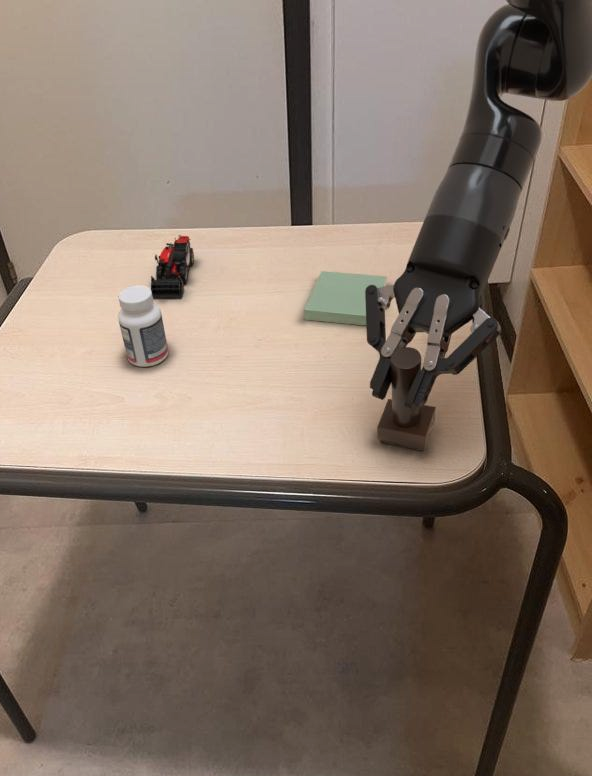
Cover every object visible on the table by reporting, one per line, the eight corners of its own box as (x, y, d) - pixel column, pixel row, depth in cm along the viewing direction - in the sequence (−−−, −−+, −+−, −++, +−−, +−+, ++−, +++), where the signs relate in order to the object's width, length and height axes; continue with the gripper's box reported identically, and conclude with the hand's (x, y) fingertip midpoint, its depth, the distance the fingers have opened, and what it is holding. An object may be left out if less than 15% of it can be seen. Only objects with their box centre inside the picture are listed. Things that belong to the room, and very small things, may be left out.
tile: (386, 286, 98) (386, 276, 97) (373, 326, 92) (373, 316, 91) (321, 280, 101) (321, 270, 100) (304, 319, 94) (303, 309, 93)
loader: (182, 299, 100) (177, 268, 97) (150, 299, 101) (144, 268, 98) (197, 256, 109) (193, 226, 105) (167, 256, 109) (162, 227, 106)
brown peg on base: (435, 423, 76) (438, 346, 67) (425, 453, 74) (427, 377, 65) (388, 415, 78) (385, 338, 69) (378, 443, 76) (373, 368, 67)
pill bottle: (173, 344, 93) (162, 282, 86) (162, 368, 89) (151, 306, 83) (133, 342, 94) (120, 281, 87) (122, 367, 90) (107, 305, 84)
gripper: (384, 198, 67) (316, 373, 69) (535, 229, 60) (455, 422, 63) (405, 228, 73) (342, 387, 76) (543, 259, 67) (470, 432, 69)
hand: (394, 402), depth 69 cm, fingers closed on brown peg on base, 2 cm apart
